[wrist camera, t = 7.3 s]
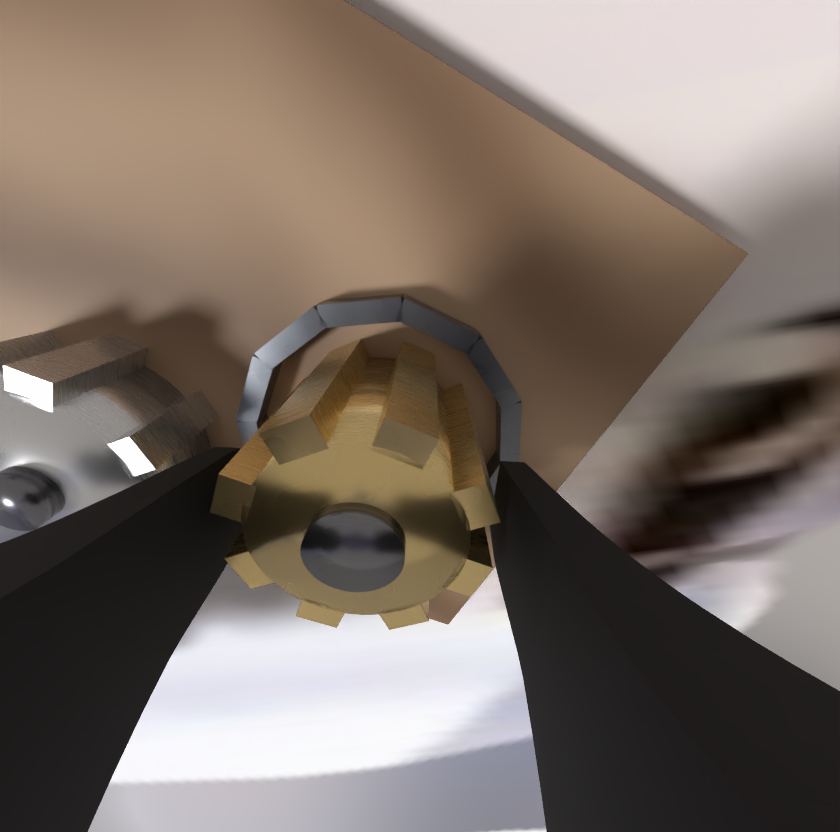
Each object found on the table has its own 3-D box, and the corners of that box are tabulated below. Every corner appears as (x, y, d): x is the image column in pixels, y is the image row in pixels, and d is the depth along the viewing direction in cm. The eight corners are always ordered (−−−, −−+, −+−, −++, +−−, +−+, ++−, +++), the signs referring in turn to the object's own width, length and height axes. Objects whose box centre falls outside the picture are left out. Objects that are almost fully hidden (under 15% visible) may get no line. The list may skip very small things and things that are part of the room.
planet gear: (427, 514, 13) (426, 671, 8) (278, 460, 12) (181, 603, 8) (504, 384, 11) (564, 500, 6) (326, 306, 10) (231, 369, 5)
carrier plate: (447, 604, 17) (448, 624, 16) (11, 459, 14) (-18, 474, 13) (719, 252, 10) (748, 253, 9) (-34, -212, 7) (-103, -280, 6)
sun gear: (208, 540, 14) (143, 629, 11) (9, 475, 13) (-131, 553, 10) (249, 388, 11) (177, 449, 8) (-5, 285, 10) (-213, 307, 7)
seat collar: (441, 556, 14) (442, 573, 14) (228, 480, 13) (216, 495, 12) (569, 374, 11) (578, 383, 10) (294, 239, 9) (283, 239, 8)
